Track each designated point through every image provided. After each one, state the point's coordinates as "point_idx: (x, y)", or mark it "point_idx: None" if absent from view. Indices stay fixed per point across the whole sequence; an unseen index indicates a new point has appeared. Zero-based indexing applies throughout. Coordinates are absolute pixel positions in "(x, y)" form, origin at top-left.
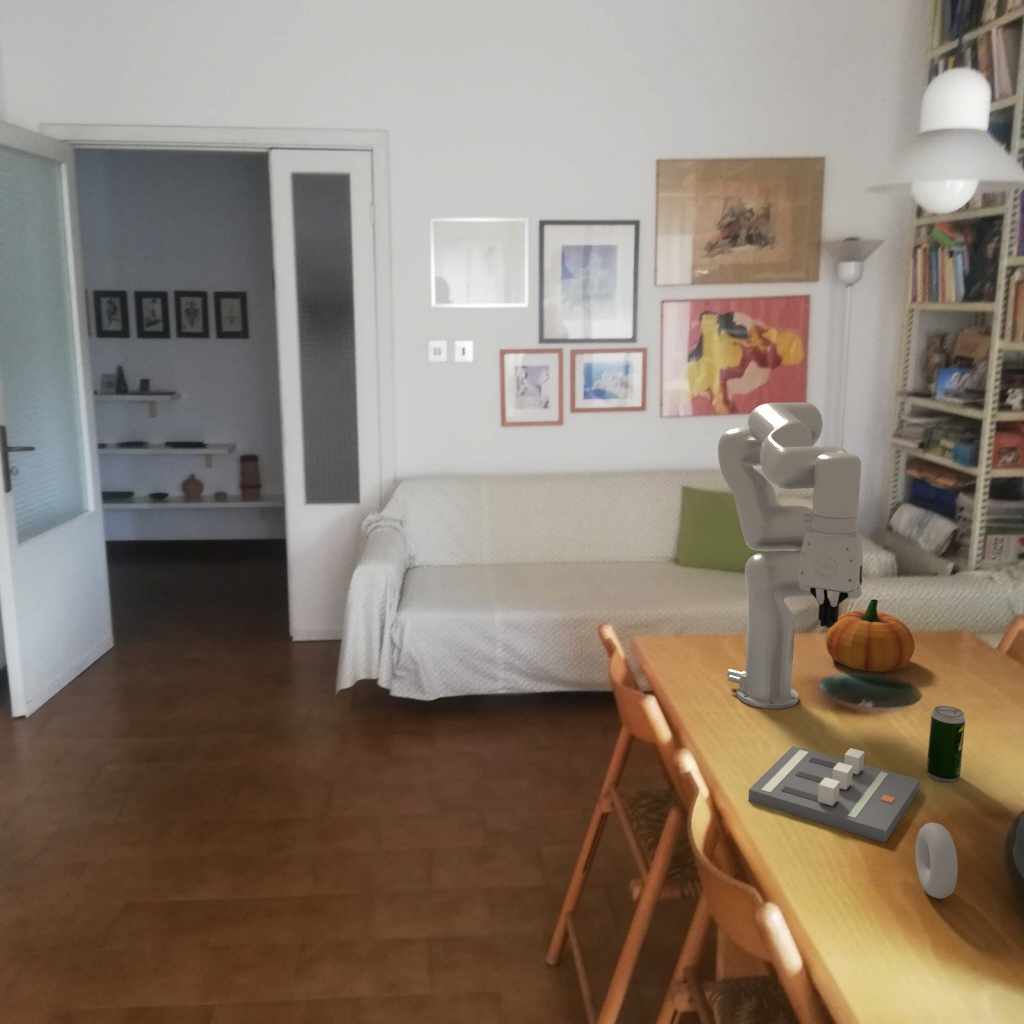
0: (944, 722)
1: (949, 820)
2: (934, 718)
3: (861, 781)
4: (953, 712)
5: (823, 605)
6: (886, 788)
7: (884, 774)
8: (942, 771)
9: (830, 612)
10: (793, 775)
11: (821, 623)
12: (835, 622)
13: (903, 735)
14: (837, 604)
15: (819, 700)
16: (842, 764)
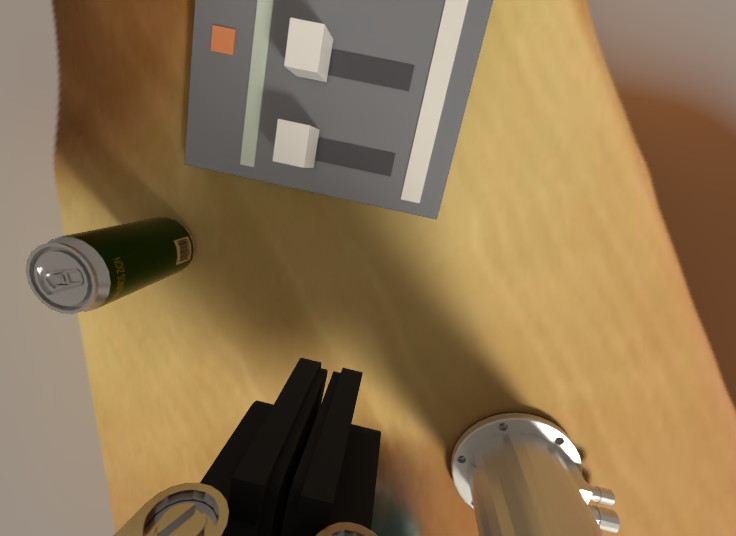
0: (74, 237)
1: (133, 64)
2: (98, 253)
3: (282, 104)
4: (52, 280)
5: (313, 498)
6: (233, 93)
7: (245, 155)
8: (155, 219)
9: (259, 435)
10: (418, 65)
11: (354, 379)
12: (258, 403)
13: (254, 381)
14: (151, 517)
15: (412, 479)
16: (307, 64)
